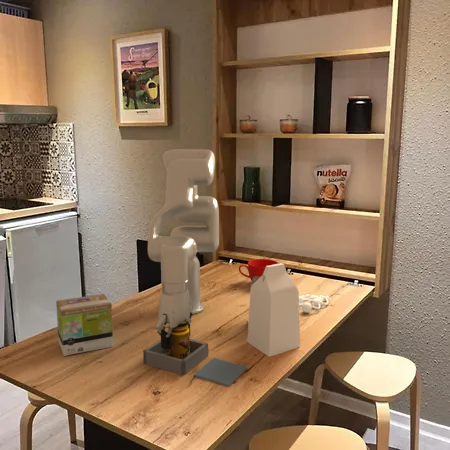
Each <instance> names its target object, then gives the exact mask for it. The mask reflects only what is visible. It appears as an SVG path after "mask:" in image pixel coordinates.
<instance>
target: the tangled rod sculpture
mask: <svg viewBox="0 0 450 450" xmlns="http://www.w3.org/2000/svg"><path fill="white" fill-rule="evenodd" d="M324 301H325V302H326V303H325V302H324ZM329 301H331V298H330V296H329V295H322V294H320V295H314V294H309V293H306V294H305V295H304V294H303V295H299V307H300V306H301V311H302V312H304V313H307V314H308V313H310V312H311V311H312V309H315V310H320V309H321V306H327V305H329V304H330V303H329ZM310 302H311V303H310Z"/></svg>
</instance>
